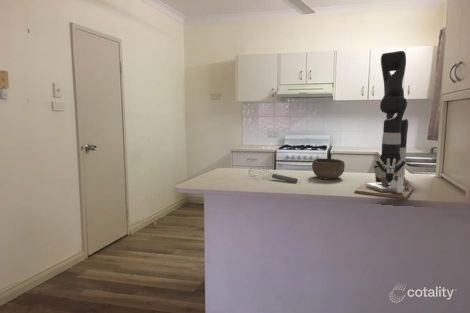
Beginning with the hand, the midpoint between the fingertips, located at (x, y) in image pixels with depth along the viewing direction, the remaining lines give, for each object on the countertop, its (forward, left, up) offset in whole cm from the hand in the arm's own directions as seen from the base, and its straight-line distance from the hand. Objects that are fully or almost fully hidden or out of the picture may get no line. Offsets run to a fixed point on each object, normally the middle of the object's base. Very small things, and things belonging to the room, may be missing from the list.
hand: (388, 181), depth 160 cm
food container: (-28, -6, -7) cm, 29 cm away
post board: (-8, -3, -6) cm, 11 cm away
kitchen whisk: (-6, -61, -7) cm, 62 cm away
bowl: (-27, -37, -7) cm, 46 cm away
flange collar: (-6, -1, -5) cm, 8 cm away
